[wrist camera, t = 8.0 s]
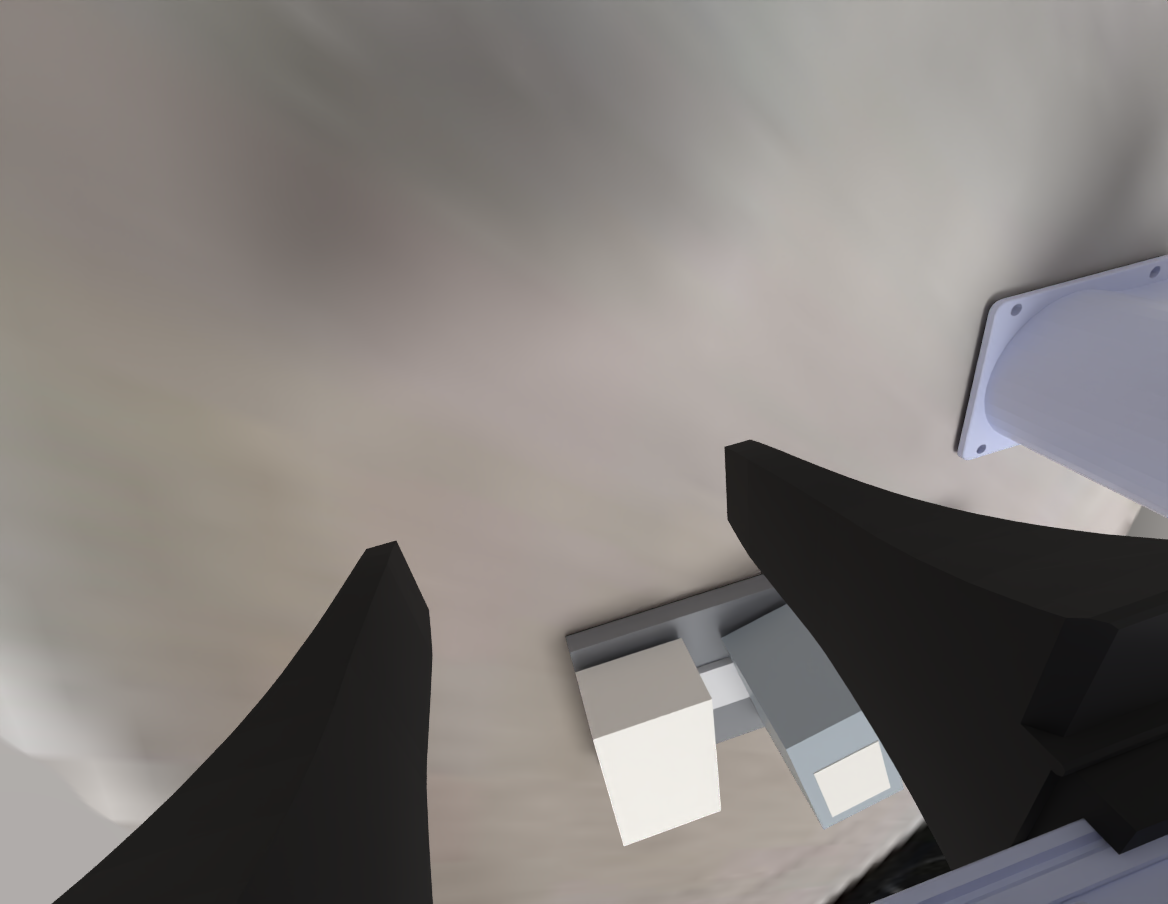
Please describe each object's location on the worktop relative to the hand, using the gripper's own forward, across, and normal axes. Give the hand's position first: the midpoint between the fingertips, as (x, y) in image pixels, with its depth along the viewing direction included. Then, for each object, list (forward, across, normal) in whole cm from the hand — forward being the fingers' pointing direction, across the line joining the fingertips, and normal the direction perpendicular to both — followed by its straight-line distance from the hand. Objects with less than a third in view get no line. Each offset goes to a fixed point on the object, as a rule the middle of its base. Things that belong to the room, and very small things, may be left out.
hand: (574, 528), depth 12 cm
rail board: (+9, -10, +20) cm, 24 cm away
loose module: (+8, -10, +20) cm, 23 cm away
